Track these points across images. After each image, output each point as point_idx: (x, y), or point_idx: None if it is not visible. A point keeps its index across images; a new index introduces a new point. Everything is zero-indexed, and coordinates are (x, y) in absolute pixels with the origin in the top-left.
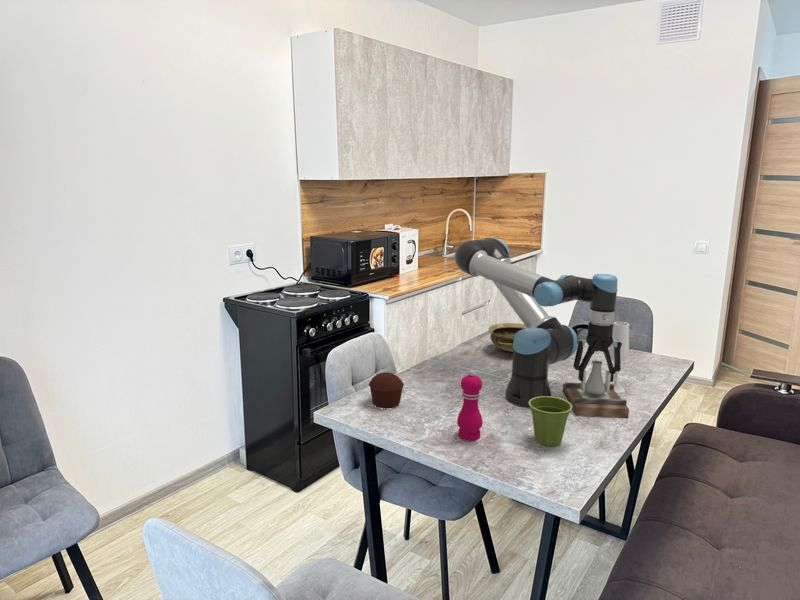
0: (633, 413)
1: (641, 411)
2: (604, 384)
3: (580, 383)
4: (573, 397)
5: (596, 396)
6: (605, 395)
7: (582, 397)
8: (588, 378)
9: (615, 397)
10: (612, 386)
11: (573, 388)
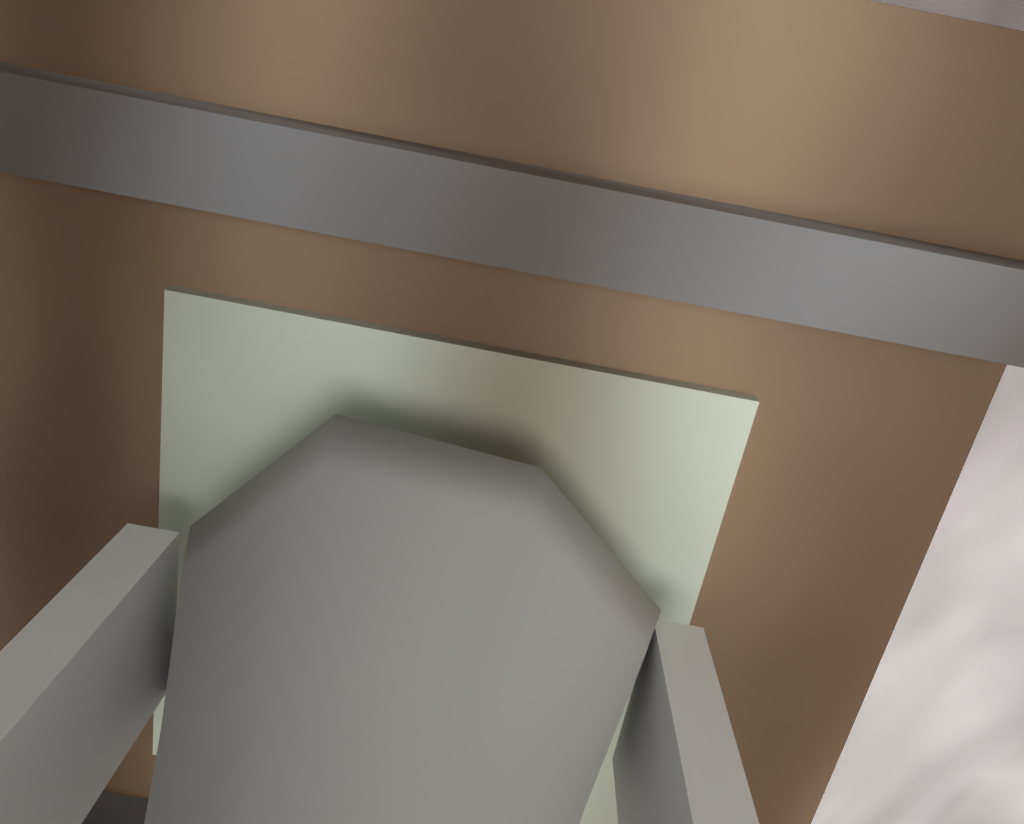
0: (854, 817)
1: (1011, 782)
2: (863, 292)
3: (245, 168)
4: (13, 625)
5: None
6: None
7: None
8: (149, 801)
9: (776, 698)
10: (1021, 359)
11: (111, 200)
